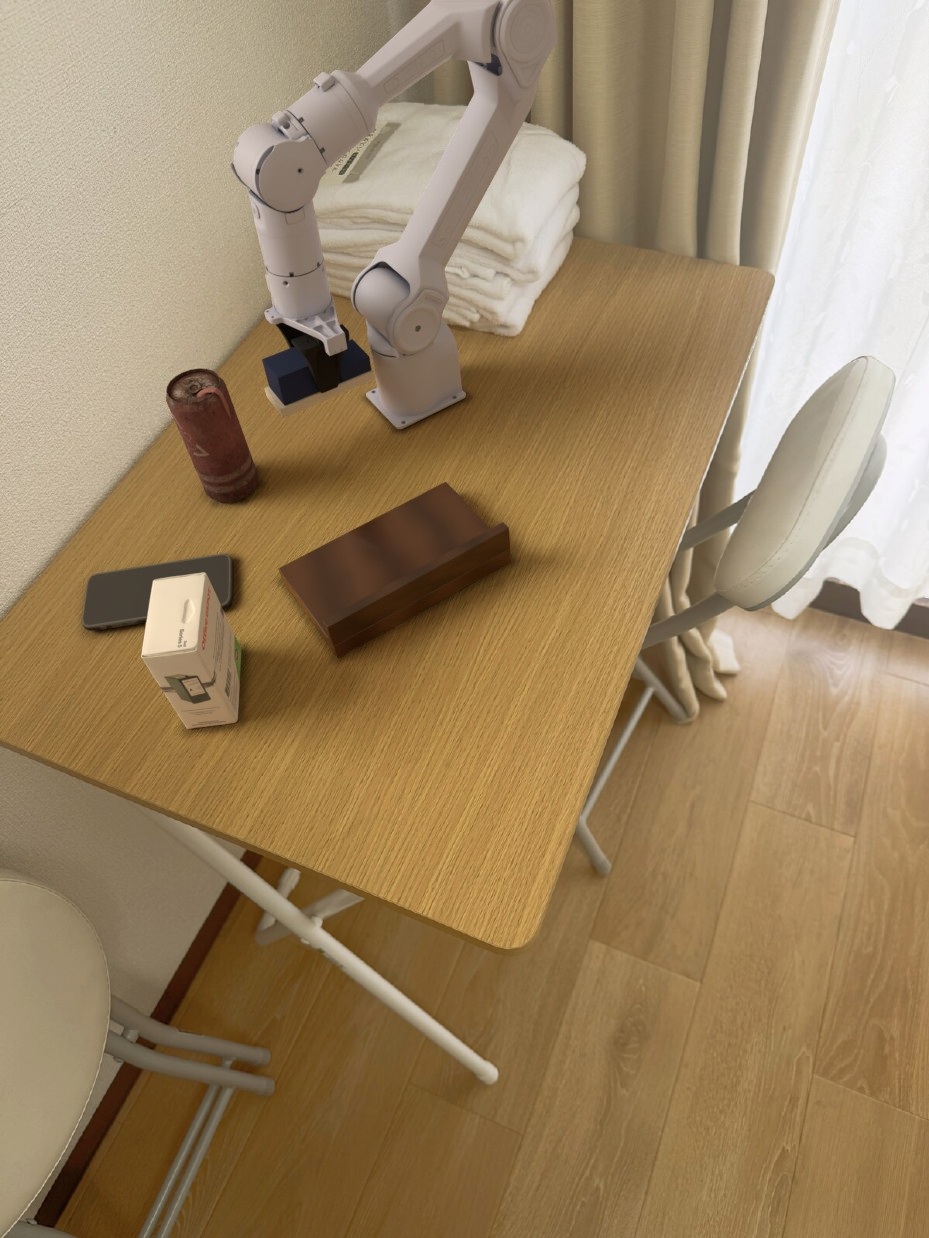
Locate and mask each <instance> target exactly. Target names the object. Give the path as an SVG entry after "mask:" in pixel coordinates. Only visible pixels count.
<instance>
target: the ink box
mask: <svg viewBox="0 0 929 1238" xmlns="http://www.w3.org/2000/svg"><path fill="white" fill-rule="evenodd" d="M144 628H145V629H144V635H143V641H142V648H141V654H140V658H141V659H142V661H143V662H144V664H145V666H146V667H147V669H148V671H149V672H150V673H151V675H152V677H153V679H154V680H155V681H156V683H157V684H158V686H159V687H160V689H161V691H162V693H163V694H164V695H165V697H166V698H167V701H169V703H170V705H171V706H172V708H173V710H174V711H175V713H176V715H177V716H178V717H179V719H180V721H181V722H182V724H183V725H184V726H185V728H186V729H187V730H191V729H197V728H204V727H213V726H221V725H230V724H235V723H237V721H238V720H239V708H240V707H239V706H240V688H241V687H240V686H241V669H242V651H243V650H242V647H241V644H240V643H239V641H238V638H237V637H236V635H235V632H234V630H233V627H232V626H231V623H230V621H229V619H228V617H227V614H226V613H225V611H224V610H223V608H222V606H221V604H220V602H219V600H218V598H217V595H216V593H215V591H214V589H213V587H212V585H211V583H210V580H209V578H208V576H207V574H206V573H196V574H189V575H182V576H173V577H167V578H160V579H155V580H153V584H152V590H151V596H150V603H149V609H148V616H147V622H145V627H144Z"/></svg>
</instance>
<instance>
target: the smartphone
mask: <svg viewBox="0 0 929 1238" xmlns="http://www.w3.org/2000/svg"><path fill="white" fill-rule="evenodd" d="M233 562H234V561H233V558H232V557H231V555H229V554H228V553H218V554H211V555H206V556H200V557H199V556H198V557H193V558H187V559H186V558H185V559H180V560H174V561H166V562H161V563H154V564H148V565H141V566H134V567H127V568H121V569H116V570H109V571H104V572H103V571H102V572H97V573H94V574H92V575H91V576H89V577H88V579H87V582H86V587H85V594H84V601H83V609H82V610H83V611H82V615H81V625H82V627H83V629H85V630H86V631H90V632H91V631H92V632H94V631H99V630H107V629H111V628H112V629H113V628H121V627H125V626H132V625H138V624H143V623H146V622H147V616H148V609H149V603H150V596H151V590H152V584H153V580H155V579H160V578H167V577H173V576H182V575H189V574H196V573H206V574H207V576H208V578H209V580H210V583H211V585H212V587H213V589H214V591H215V593H216V595H217V598H218V600H219V602H220V604H221V606H222V608H223V611H224V610H226V609H228V608H229V607H230V606H231V605H232V602H233V592H234V591H233V587H234V585H233V583H234V582H233V581H234V580H233V578H234V563H233Z"/></svg>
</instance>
